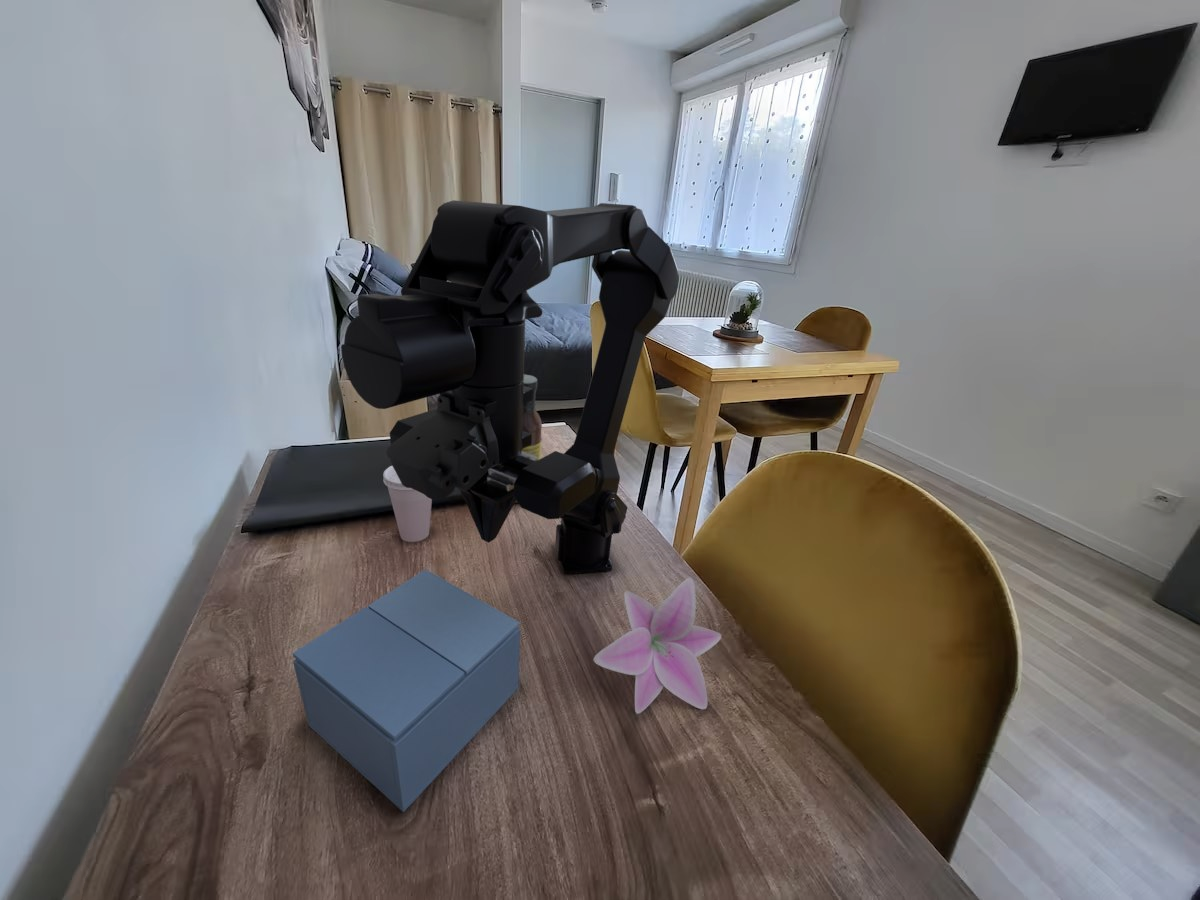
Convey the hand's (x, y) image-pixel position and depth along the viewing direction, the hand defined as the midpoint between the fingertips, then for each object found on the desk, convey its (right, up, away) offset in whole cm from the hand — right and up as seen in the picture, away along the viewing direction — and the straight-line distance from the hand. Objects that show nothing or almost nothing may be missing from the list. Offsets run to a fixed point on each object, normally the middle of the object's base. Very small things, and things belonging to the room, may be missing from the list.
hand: (488, 539), depth 45 cm
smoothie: (-15, -3, +21) cm, 26 cm away
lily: (+16, -15, +3) cm, 22 cm away
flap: (-3, -6, -2) cm, 8 cm away
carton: (-6, -15, -2) cm, 16 cm away
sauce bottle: (-3, +1, +33) cm, 33 cm away
